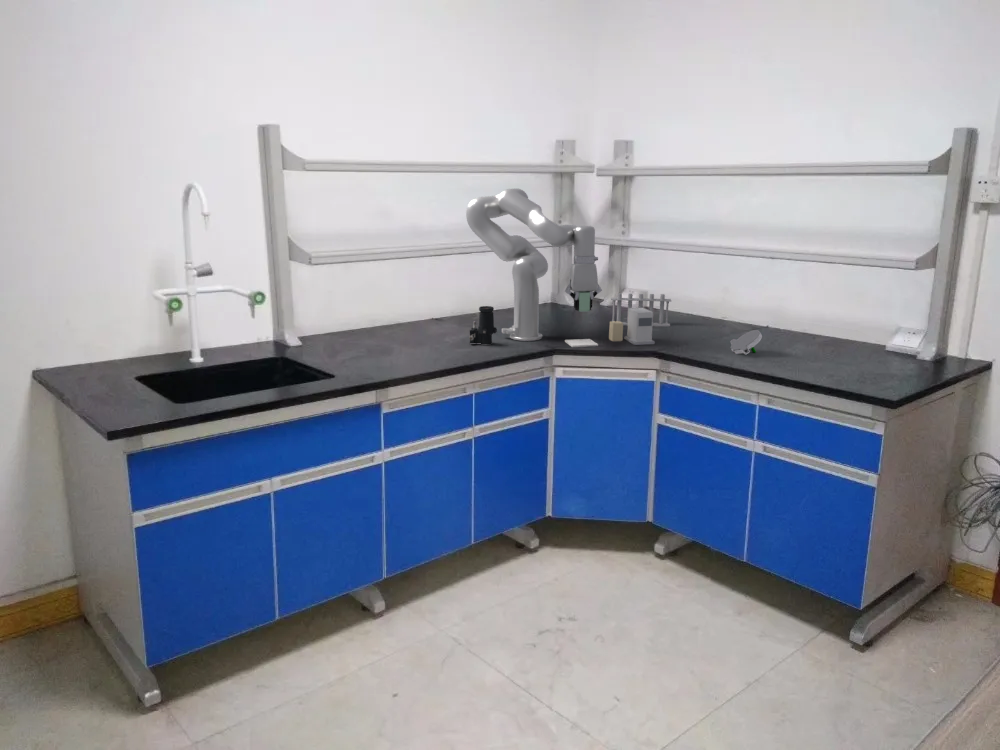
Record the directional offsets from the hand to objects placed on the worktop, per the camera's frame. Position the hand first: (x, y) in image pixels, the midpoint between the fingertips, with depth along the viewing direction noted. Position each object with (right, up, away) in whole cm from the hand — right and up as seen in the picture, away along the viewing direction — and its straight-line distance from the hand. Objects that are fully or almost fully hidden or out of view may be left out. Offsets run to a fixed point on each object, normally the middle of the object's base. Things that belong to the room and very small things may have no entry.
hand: (582, 309), depth 287 cm
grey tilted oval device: (+57, -17, -10) cm, 60 cm away
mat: (0, -13, +4) cm, 13 cm away
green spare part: (0, 0, 0) cm, 1 cm away
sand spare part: (+14, -11, +10) cm, 20 cm away
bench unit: (+22, -11, +8) cm, 26 cm away
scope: (-37, -13, +3) cm, 39 cm away
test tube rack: (+28, -3, +40) cm, 49 cm away
